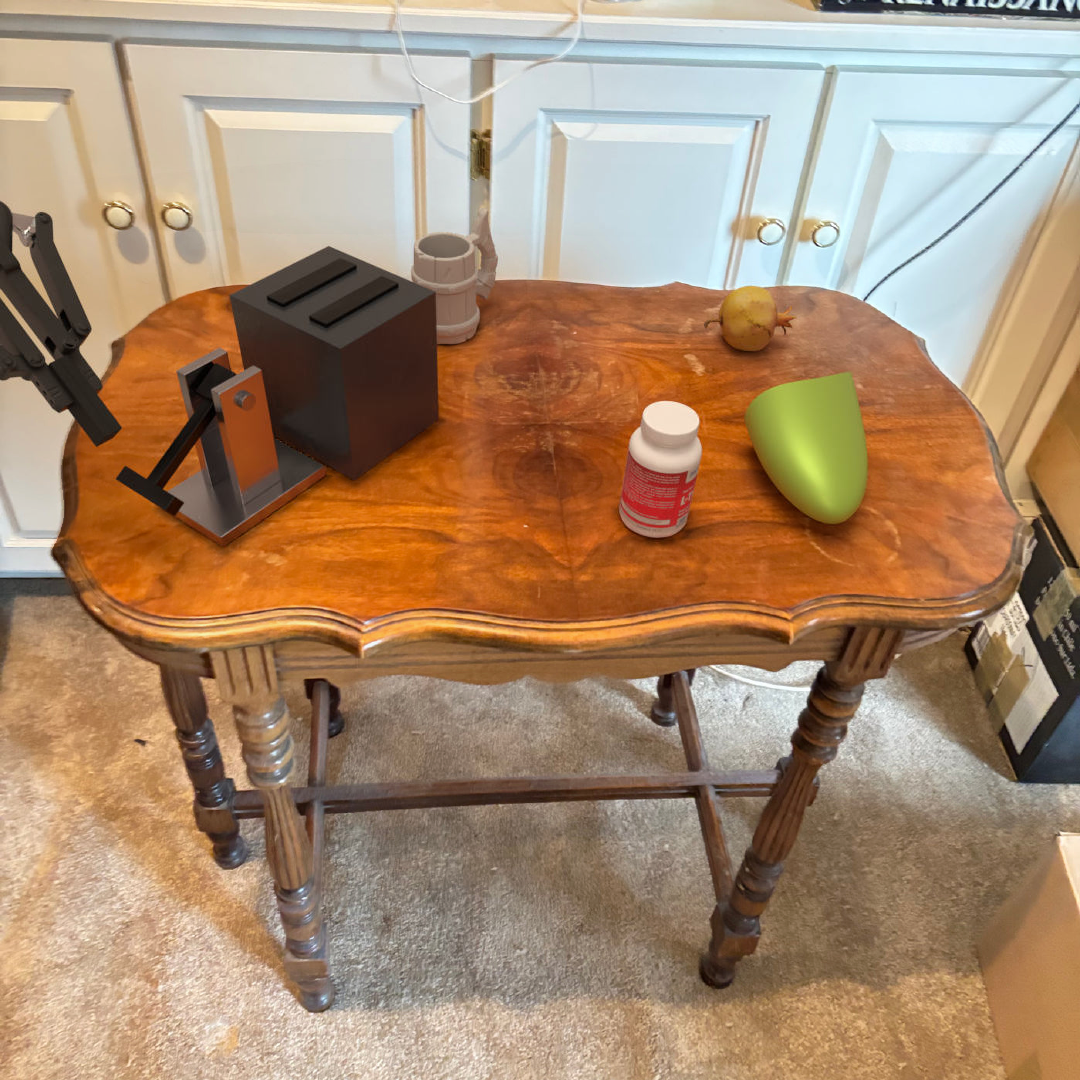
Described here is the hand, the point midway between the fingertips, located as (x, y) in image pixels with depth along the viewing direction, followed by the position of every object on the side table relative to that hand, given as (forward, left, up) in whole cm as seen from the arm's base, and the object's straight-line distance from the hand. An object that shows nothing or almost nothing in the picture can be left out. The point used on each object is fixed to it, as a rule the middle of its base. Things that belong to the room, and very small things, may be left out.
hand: (109, 437), depth 72 cm
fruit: (+65, +14, -10) cm, 67 cm away
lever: (+6, +1, -2) cm, 7 cm away
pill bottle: (+43, -10, -10) cm, 45 cm away
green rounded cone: (+60, -8, -10) cm, 61 cm away
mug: (+35, +26, -10) cm, 45 cm away
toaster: (+20, +11, -10) cm, 24 cm away
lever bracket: (+9, +3, -10) cm, 14 cm away
